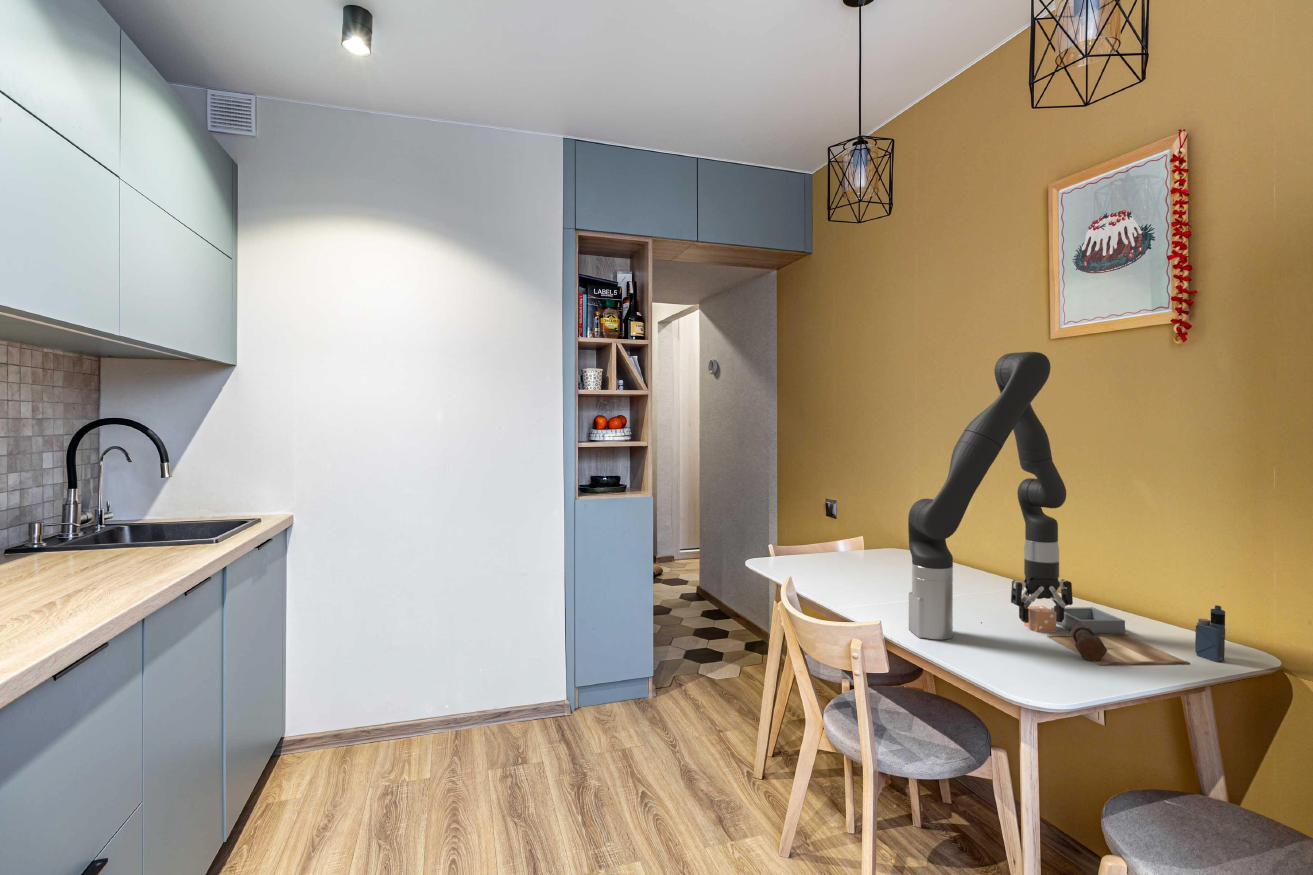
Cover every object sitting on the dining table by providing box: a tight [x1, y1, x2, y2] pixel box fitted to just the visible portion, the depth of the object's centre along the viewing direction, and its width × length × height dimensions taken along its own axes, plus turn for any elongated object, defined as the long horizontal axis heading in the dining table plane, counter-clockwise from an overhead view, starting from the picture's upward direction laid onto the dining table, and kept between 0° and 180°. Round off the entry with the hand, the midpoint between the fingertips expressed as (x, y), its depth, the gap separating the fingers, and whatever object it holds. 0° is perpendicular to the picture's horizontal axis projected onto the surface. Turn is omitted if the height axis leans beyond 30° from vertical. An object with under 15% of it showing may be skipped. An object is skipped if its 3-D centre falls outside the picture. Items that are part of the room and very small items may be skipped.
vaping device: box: [1194, 604, 1226, 663], centre depth 136 cm, size 3×5×12 cm, turn 16°
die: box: [1023, 605, 1057, 633], centre depth 156 cm, size 5×5×5 cm
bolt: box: [1069, 624, 1107, 662], centre depth 142 cm, size 6×5×15 cm
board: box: [1046, 633, 1191, 666], centre depth 142 cm, size 20×18×1 cm
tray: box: [1050, 606, 1126, 635], centre depth 157 cm, size 11×11×4 cm
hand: (1041, 621), depth 156 cm, fingers open, 8 cm apart
